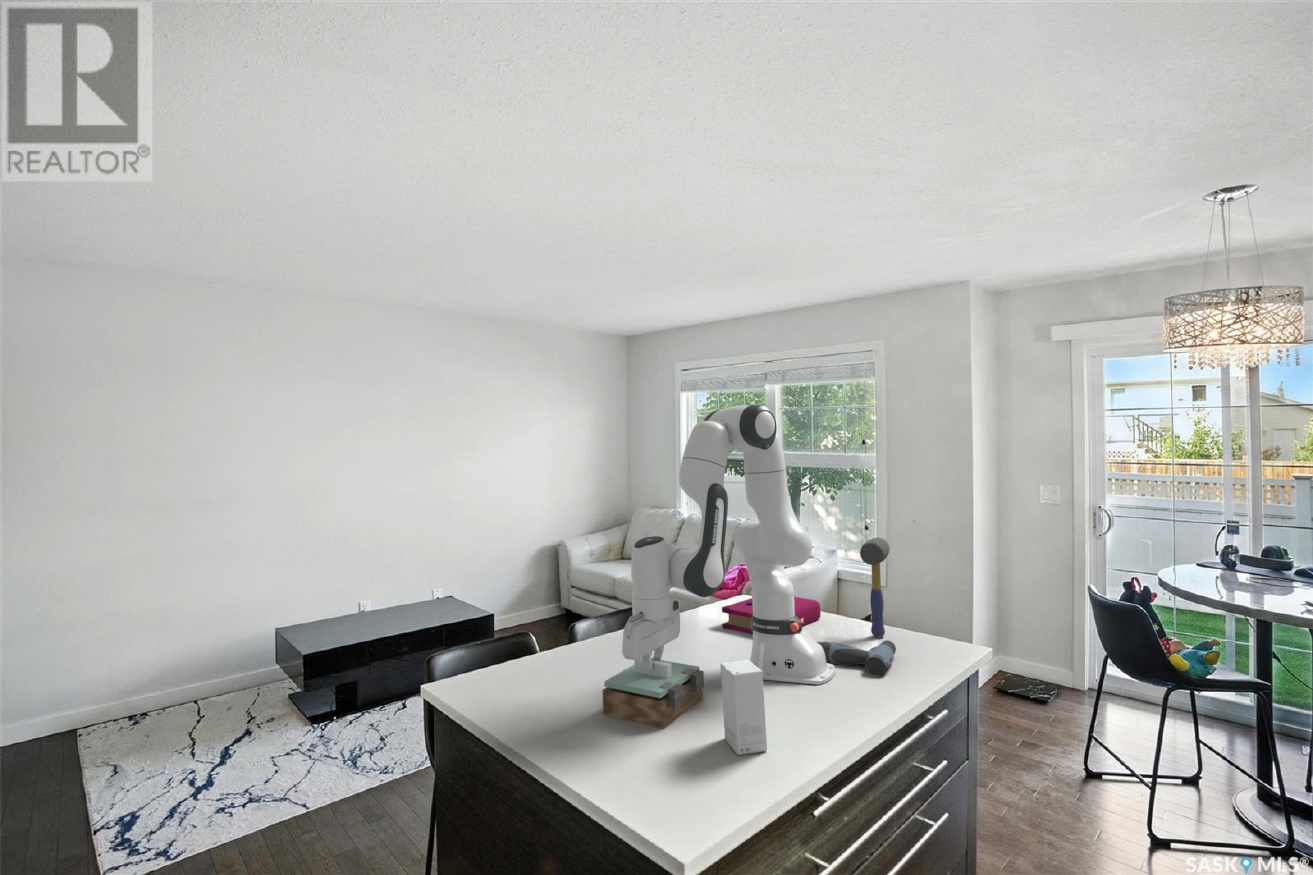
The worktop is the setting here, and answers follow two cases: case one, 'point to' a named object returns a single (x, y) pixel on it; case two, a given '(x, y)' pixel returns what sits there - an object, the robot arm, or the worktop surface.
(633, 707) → the wooden crate tray
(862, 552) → the rubber mallet
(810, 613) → the book
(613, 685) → the green lid with handle
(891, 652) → the power drill
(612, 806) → the worktop surface
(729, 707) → the skincare box
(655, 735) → the worktop surface
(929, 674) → the worktop surface
